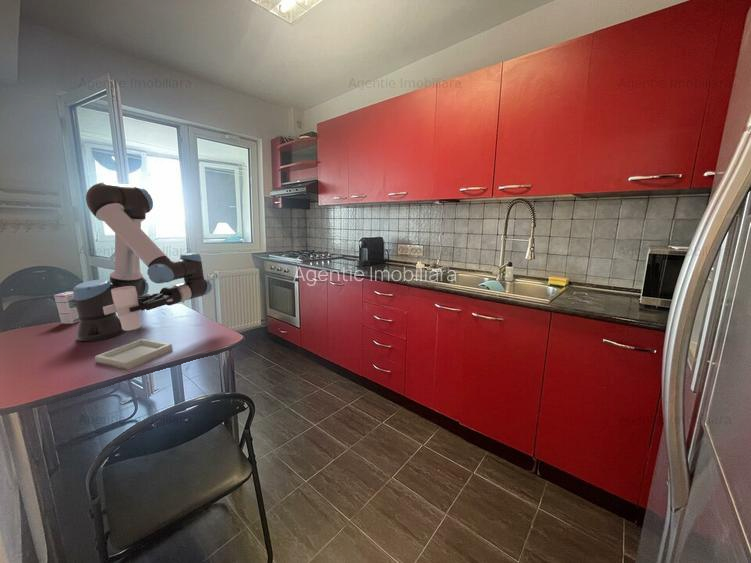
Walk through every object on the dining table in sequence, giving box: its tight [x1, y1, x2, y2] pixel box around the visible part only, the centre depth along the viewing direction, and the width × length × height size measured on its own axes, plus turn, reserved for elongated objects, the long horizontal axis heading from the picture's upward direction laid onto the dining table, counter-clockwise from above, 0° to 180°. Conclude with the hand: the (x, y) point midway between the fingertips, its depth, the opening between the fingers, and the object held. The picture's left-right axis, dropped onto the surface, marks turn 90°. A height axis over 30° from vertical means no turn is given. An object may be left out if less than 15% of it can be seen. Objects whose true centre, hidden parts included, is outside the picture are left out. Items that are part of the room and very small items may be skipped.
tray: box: [94, 338, 173, 371], centre depth 109 cm, size 16×16×2 cm
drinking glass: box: [111, 286, 142, 332], centre depth 105 cm, size 7×7×15 cm
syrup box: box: [54, 291, 80, 325], centre depth 142 cm, size 6×6×14 cm
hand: (111, 311), depth 100 cm, fingers closed on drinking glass, 6 cm apart
